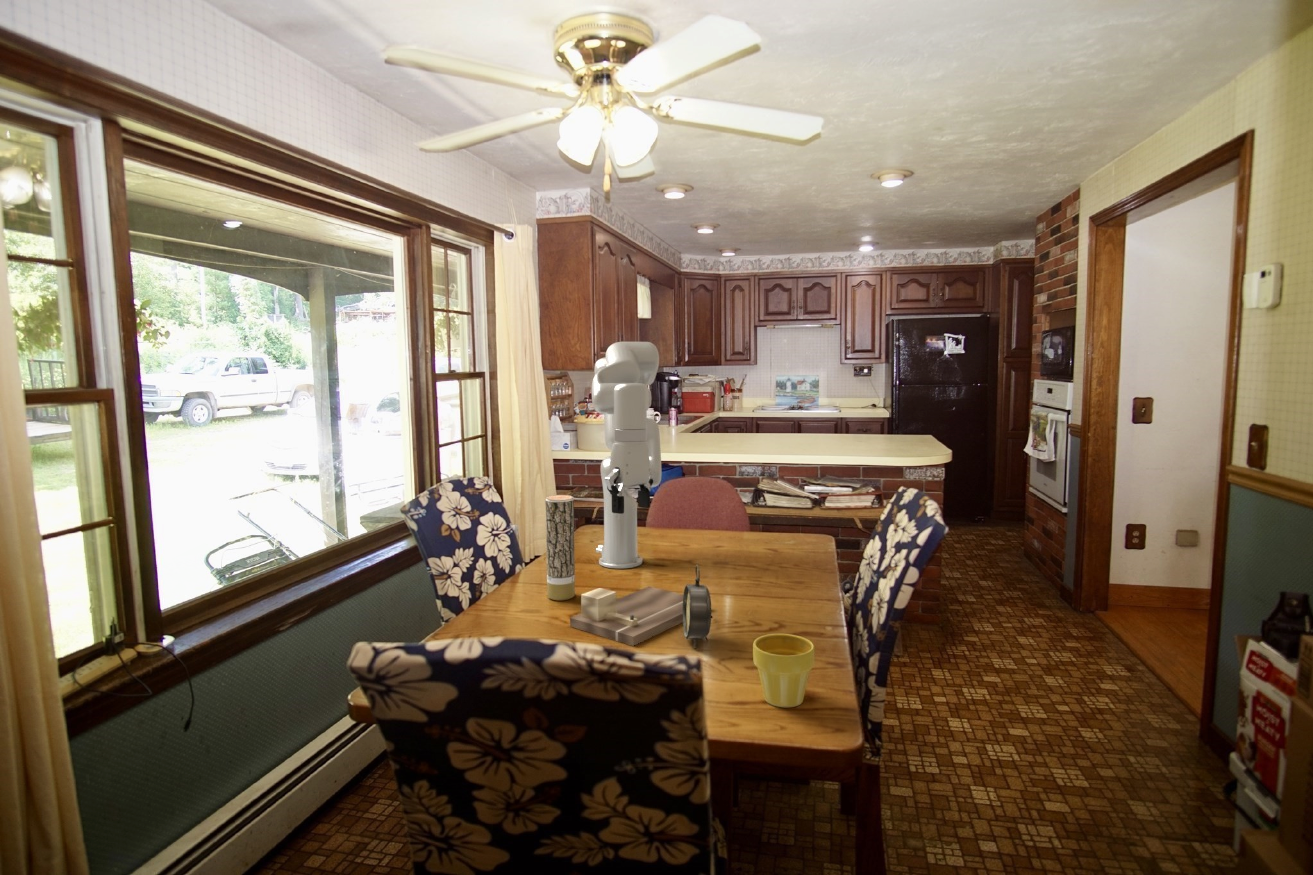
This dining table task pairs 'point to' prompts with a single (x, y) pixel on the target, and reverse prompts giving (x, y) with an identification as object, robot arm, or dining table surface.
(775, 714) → the dining table surface
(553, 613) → the dining table surface
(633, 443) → the robot arm
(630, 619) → the cream square mallet
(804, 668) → the plant pot
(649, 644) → the dining table surface
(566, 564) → the paper tube
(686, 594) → the alarm clock
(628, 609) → the wooden cutting board
